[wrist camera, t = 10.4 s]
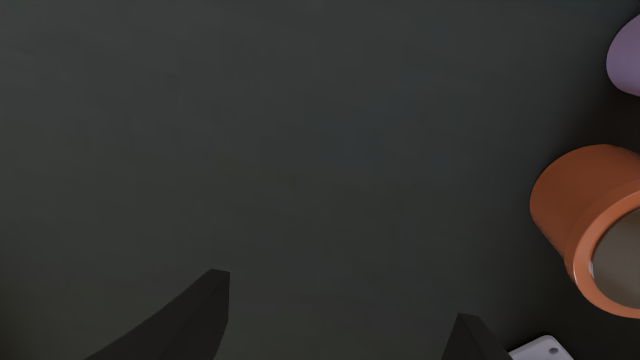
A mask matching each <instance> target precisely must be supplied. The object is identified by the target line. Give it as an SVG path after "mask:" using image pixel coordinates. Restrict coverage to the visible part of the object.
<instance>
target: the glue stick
mask: <svg viewBox="0 0 640 360" xmlns="http://www.w3.org/2000/svg"><path fill="white" fill-rule="evenodd" d="M606 67H607V73H608V75H609V78H610V80H611V81H612V83H613V84H614V85H615V86H616V87H617V88H618V89H620V90H622V91H624V92H626V93H629V94H633V95H636V96H640V15H638V16H637V17H635V18H634V19H632V20H631V21H630V22H628V23H627V24H626V25H625V26H624V27H623V28H622V29H621V30H620V31H619V33H618V34H617V35H616V37H615V38H614V40H613V42H612V44H611V46H610V48H609V51H608V55H607V61H606Z"/></svg>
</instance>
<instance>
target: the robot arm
mask: <svg viewBox="0 0 640 360" xmlns="http://www.w3.org/2000/svg"><path fill="white" fill-rule="evenodd" d="M229 282H230V272H226V271H220V270H215V269H210V270H209V271H207V272H206V273H205V274H204V275H203V276H201V277H200V278H199V279H198V280H197V281H195V282H194V283H193V284H192V285H191V286H189V287H188V288H187V289H186V290H185V291H183V292H182V293H181V294H180V295H178V296H177V297H176V298H175V299H173V300H172V301H171V302H170V303H168V304H167V305H166V306H164V307H163V308H162V309H161V310H159V311H158V312H157V313H155V314H154V315H152V316H151V317H150V318H148V319H147V320H145V321H144V322H143V323H141V324H140V325H138V326H137V327H135V328H134V329H133V330H131V331H130V332H128V333H127V334H125V335H124V336H122V337H121V338H119V339H117V340H116V341H114V342H113V343H111V344H109V345H108V346H106V347H105V348H103V349H101V350H100V351H98V352H96V353H94V354H93V355H91V356H89V357H87V358H86V359H84V360H213V359H214V357H215V355H216V353H217V350H218V347H219V345H220V342H221V339H222V337H223V334H224V331H225V328H226V325H227V322H228V307H229ZM551 348H553V349H551ZM441 360H574V359H573V358H572V357H571V356H570V355H569V354H568V352H567V351H566V350H565V349H564V348H563V347H562V346H561V345H560V344H559V342H558V341H557V340H556V339H555V338H554V337H553V336H550V335H545V336H542V337H540V338H538V339H536V340H534V341H532V342H529V343H527V344H525V345H523V346H521V347H519V348H517V349H515V350H513V351H511V352H509V353H508V352H507V351H506V350H505V349H504V347H503V346H502V345H501V344H500V342H499V341H498V340H497V339H496V337H495V336H494V335H493V334H492V332H491V331H490V330H489V329H488V327H487V326H486V325H485V324H484V322H483V321H482V320H481V319H480V318H479V317H478V316H473V315H467V314H462V313H458V316H457V319H456V321H455V324H454V327H453V329H452V332H451V335H450V338H449V340H448V343H447V346H446V349H445V351H444V354H443V357H442V359H441Z"/></svg>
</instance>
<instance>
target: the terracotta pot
mask: <svg viewBox="0 0 640 360" xmlns="http://www.w3.org/2000/svg"><path fill="white" fill-rule="evenodd" d="M530 212H531V216H532V219H533V221H534V223H535V224H536V226H537V227H538V229H539V230H540V231H541V232H542V234H543V235H544V236H545V237H546V238H547V240H548V241H549V242H550V243H551V244H552V246H553V247H554V248H555V249H556V250H557V252H558V253H559V254H560V255H561V257H562V258H563V259H564V260H565V266H566V270H567V272H568V274H569V277H570V278H571V280H572V281H573V283H574V284H575V285H576V287H577V288H578V289H579V290H580V292H581V293H582V294H583V295H584V296H585V297H586V298H587V299H588V300H589V301H590V302H591V303H592V304H594V305H595V306H597V307H599V308H600V309H602V310H604V311H607V312H609V313H612V314H615V315H619V316H623V317H630V318H640V155H639V154H637V153H635V152H633V151H631V150H629V149H626V148H624V147H620V146H616V145H608V144H599V145H590V146H586V147H582V148H579V149H576V150H573V151H571V152H569V153H566V154H565V155H563V156H561V157H560V158H558V159H557V160H555V161H554V162H553V163H551V164H550V165H549V166H548V167H547V168H546V169H545V170H544V171H543V172H542V174H541V175H540V176H539V178H538V179H537V181H536V183H535V185H534V187H533V190H532V192H531V197H530Z"/></svg>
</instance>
